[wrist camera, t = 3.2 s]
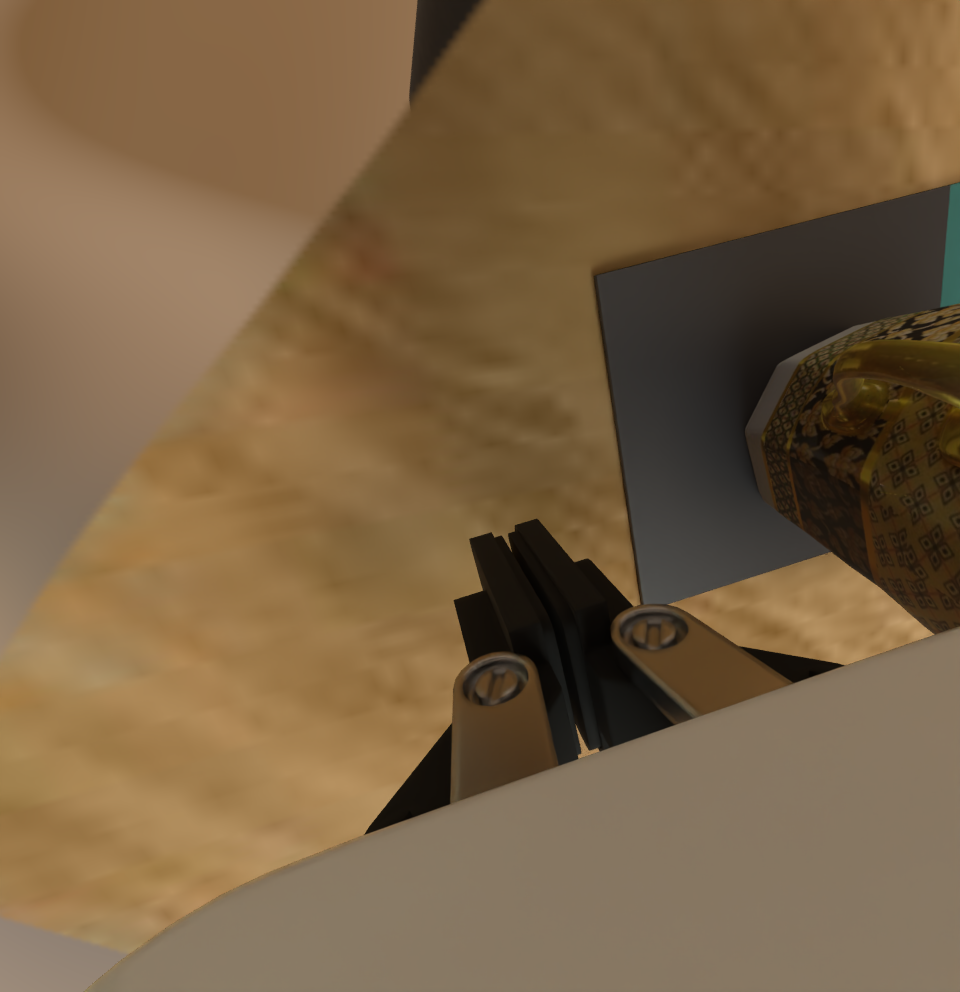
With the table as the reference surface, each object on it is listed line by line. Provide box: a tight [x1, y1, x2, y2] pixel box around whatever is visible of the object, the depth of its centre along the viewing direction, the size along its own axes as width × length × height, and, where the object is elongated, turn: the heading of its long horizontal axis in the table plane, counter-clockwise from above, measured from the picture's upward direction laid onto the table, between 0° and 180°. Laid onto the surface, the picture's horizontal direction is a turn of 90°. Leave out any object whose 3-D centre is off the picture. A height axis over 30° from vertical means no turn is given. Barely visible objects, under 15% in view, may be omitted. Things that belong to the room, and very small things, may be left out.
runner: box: [594, 182, 960, 605], centre depth 18 cm, size 12×24×1 cm, turn 104°
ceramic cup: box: [745, 303, 960, 635], centre depth 12 cm, size 13×10×10 cm
